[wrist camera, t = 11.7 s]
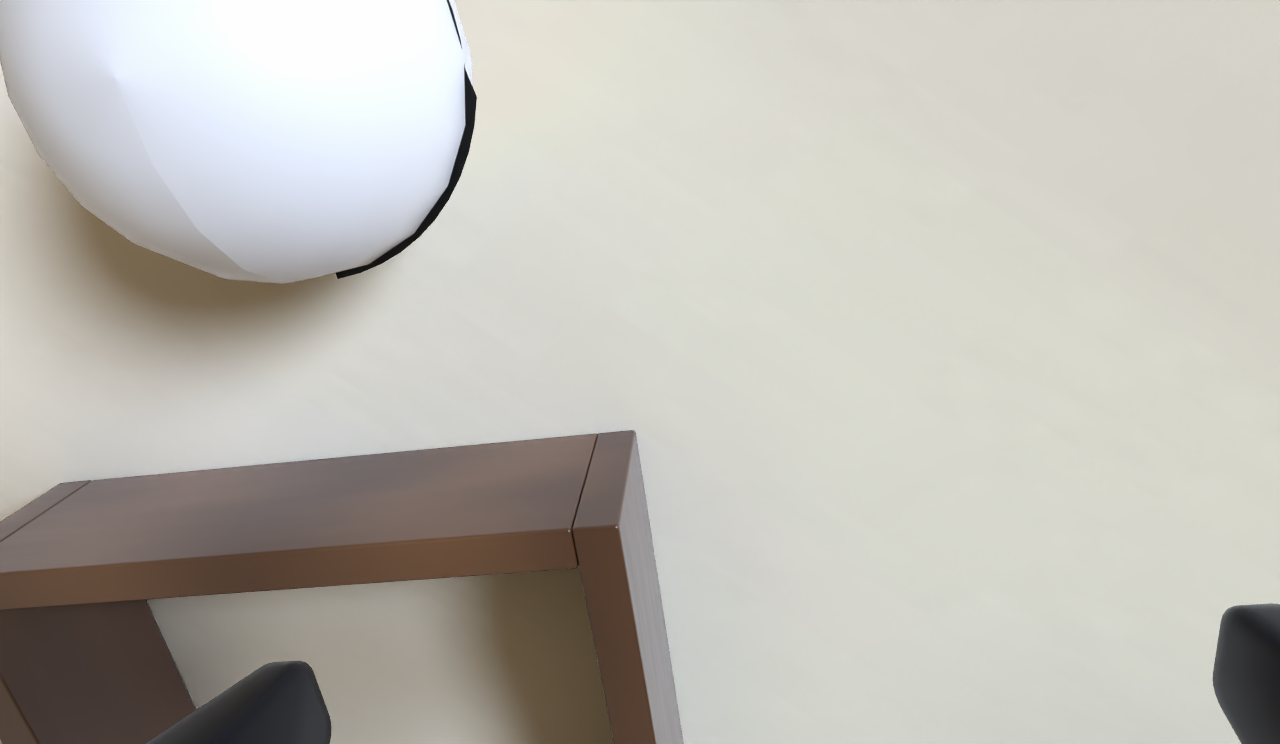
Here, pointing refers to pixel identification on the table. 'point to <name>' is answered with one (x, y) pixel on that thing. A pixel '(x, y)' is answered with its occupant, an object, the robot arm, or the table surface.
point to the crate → (315, 568)
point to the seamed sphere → (248, 123)
